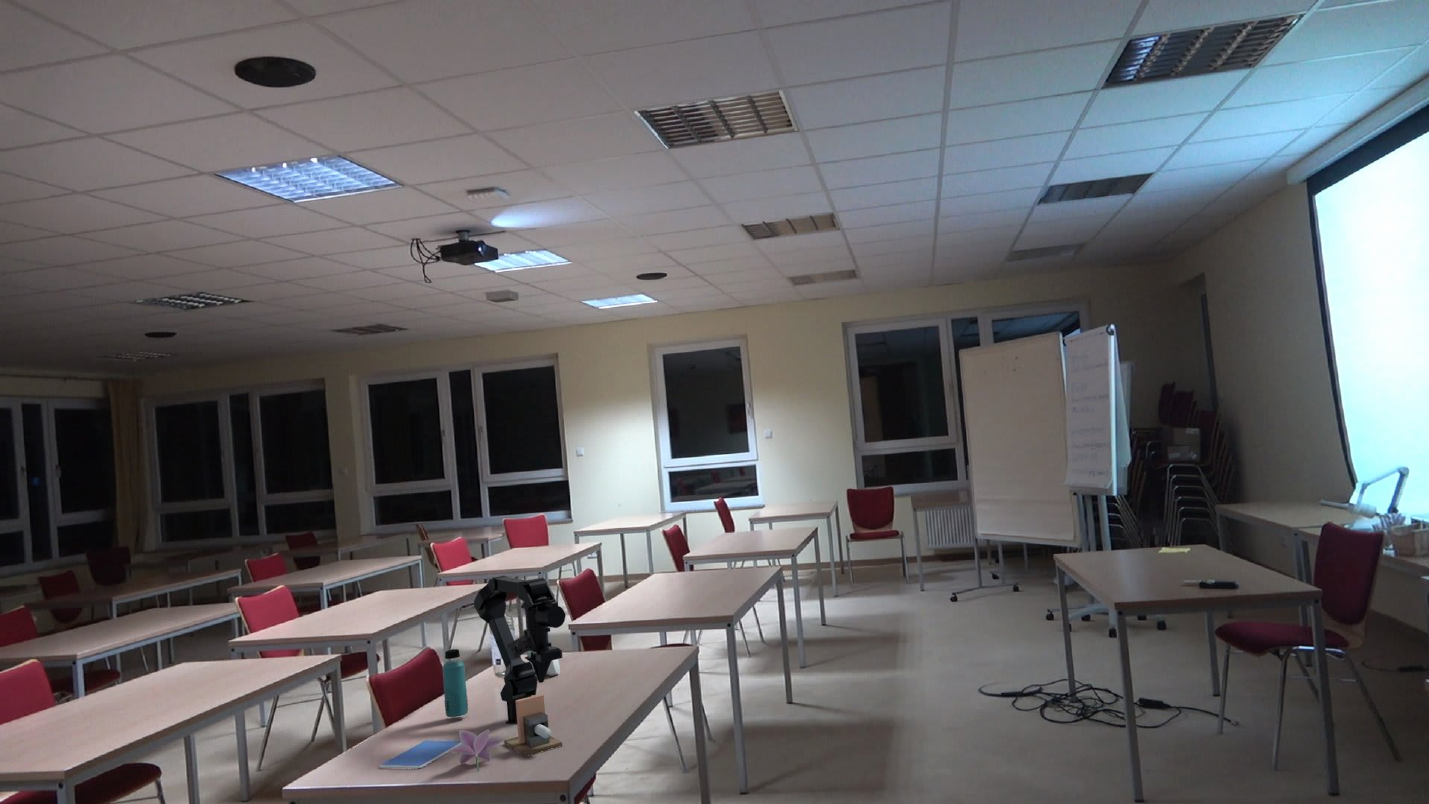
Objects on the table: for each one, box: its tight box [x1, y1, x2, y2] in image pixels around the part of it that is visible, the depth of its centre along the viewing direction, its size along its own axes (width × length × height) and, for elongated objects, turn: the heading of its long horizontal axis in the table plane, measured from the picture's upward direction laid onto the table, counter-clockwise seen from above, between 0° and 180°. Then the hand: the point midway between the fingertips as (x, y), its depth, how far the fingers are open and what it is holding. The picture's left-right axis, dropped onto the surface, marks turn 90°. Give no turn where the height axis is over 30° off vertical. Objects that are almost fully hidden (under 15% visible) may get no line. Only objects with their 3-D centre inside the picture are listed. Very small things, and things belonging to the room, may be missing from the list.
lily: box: [448, 729, 506, 772], centre depth 211 cm, size 12×12×10 cm
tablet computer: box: [378, 739, 462, 770], centre depth 224 cm, size 19×13×1 cm, turn 163°
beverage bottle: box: [441, 648, 469, 718], centre depth 255 cm, size 6×7×20 cm
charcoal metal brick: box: [523, 712, 550, 748], centre depth 221 cm, size 4×5×7 cm
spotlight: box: [530, 659, 561, 677], centre depth 298 cm, size 8×11×8 cm
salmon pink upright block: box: [516, 693, 552, 744], centre depth 220 cm, size 10×7×10 cm
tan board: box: [503, 735, 563, 758], centre depth 224 cm, size 14×10×1 cm
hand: (541, 682), depth 239 cm, fingers closed
